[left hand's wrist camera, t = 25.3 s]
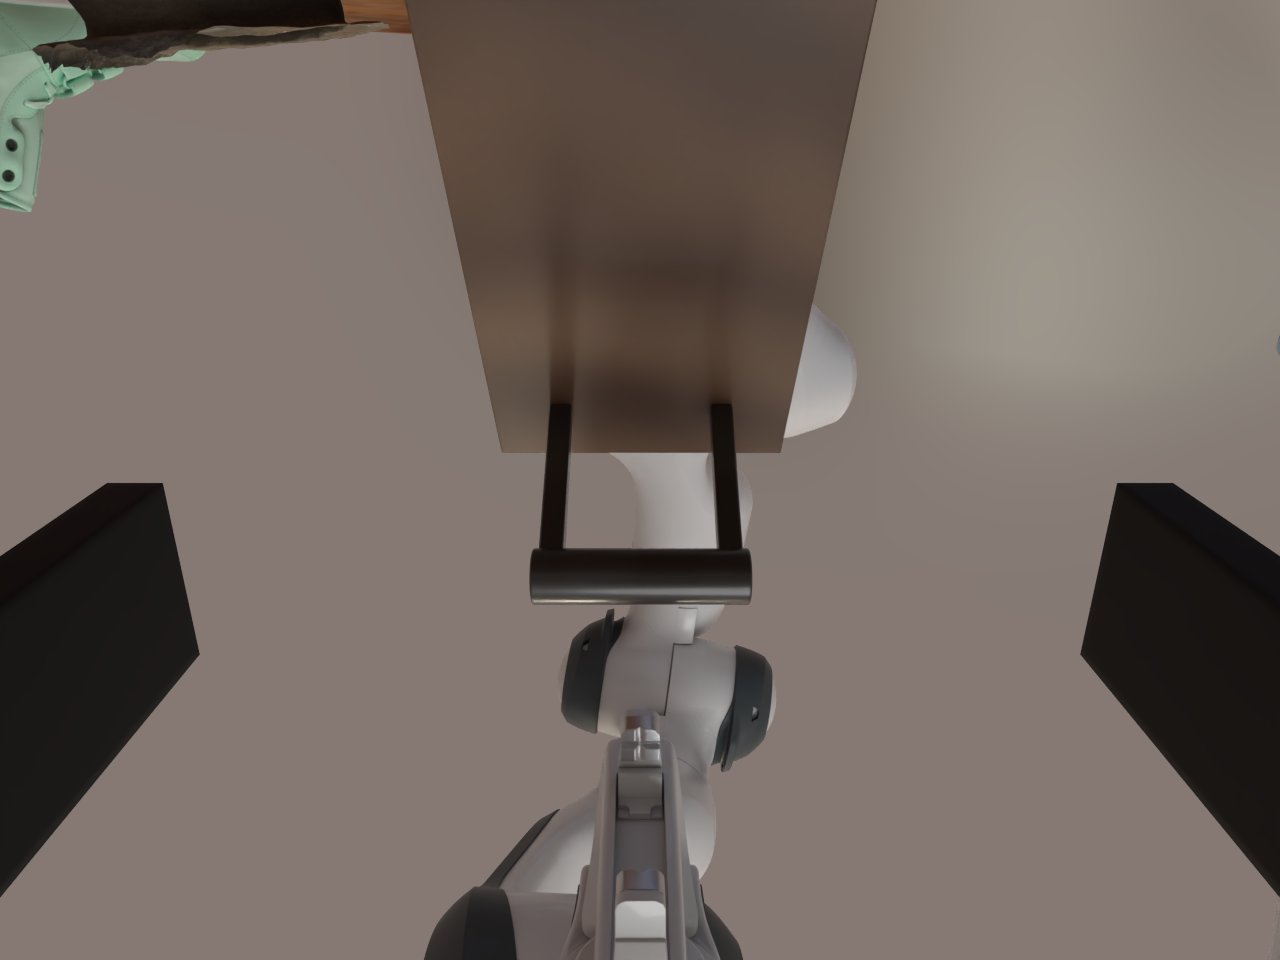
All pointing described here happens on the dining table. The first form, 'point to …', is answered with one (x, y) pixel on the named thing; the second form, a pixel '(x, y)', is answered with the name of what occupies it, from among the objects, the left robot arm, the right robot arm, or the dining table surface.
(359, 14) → the dining table surface
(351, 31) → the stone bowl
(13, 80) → the sneaker
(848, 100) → the lid
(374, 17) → the dining table surface
